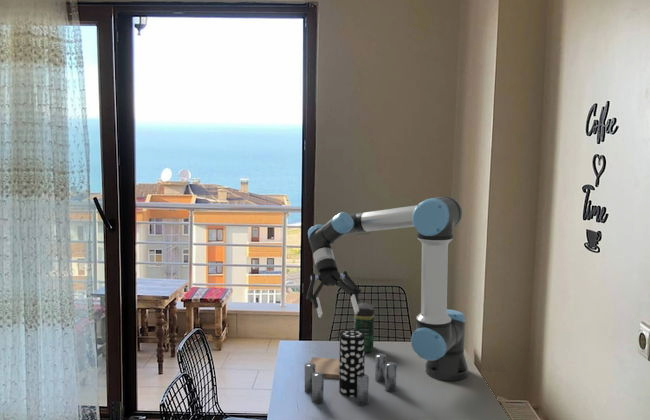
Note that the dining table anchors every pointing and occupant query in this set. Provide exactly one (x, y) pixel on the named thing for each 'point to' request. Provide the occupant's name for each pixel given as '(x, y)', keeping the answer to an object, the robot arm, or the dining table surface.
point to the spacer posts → (316, 380)
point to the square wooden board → (327, 367)
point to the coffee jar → (365, 324)
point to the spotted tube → (351, 361)
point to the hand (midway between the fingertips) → (339, 314)
